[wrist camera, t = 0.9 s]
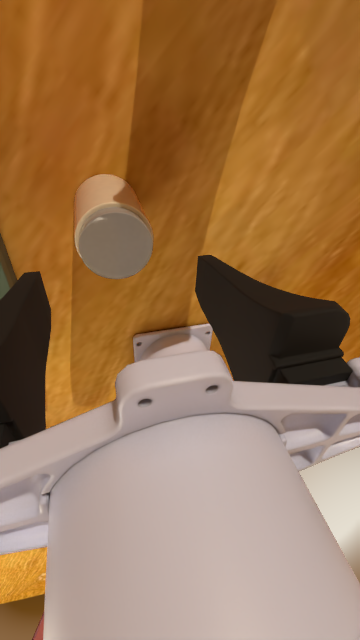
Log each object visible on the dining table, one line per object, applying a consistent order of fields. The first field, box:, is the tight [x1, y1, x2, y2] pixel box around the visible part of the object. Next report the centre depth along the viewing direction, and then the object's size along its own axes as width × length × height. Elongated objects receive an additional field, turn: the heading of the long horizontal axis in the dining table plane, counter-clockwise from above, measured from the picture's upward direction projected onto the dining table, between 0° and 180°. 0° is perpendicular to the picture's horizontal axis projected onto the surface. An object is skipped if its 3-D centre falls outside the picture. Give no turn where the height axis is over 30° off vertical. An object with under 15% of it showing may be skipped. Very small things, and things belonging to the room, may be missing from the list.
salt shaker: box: [74, 174, 153, 279], centre depth 19 cm, size 4×4×6 cm
